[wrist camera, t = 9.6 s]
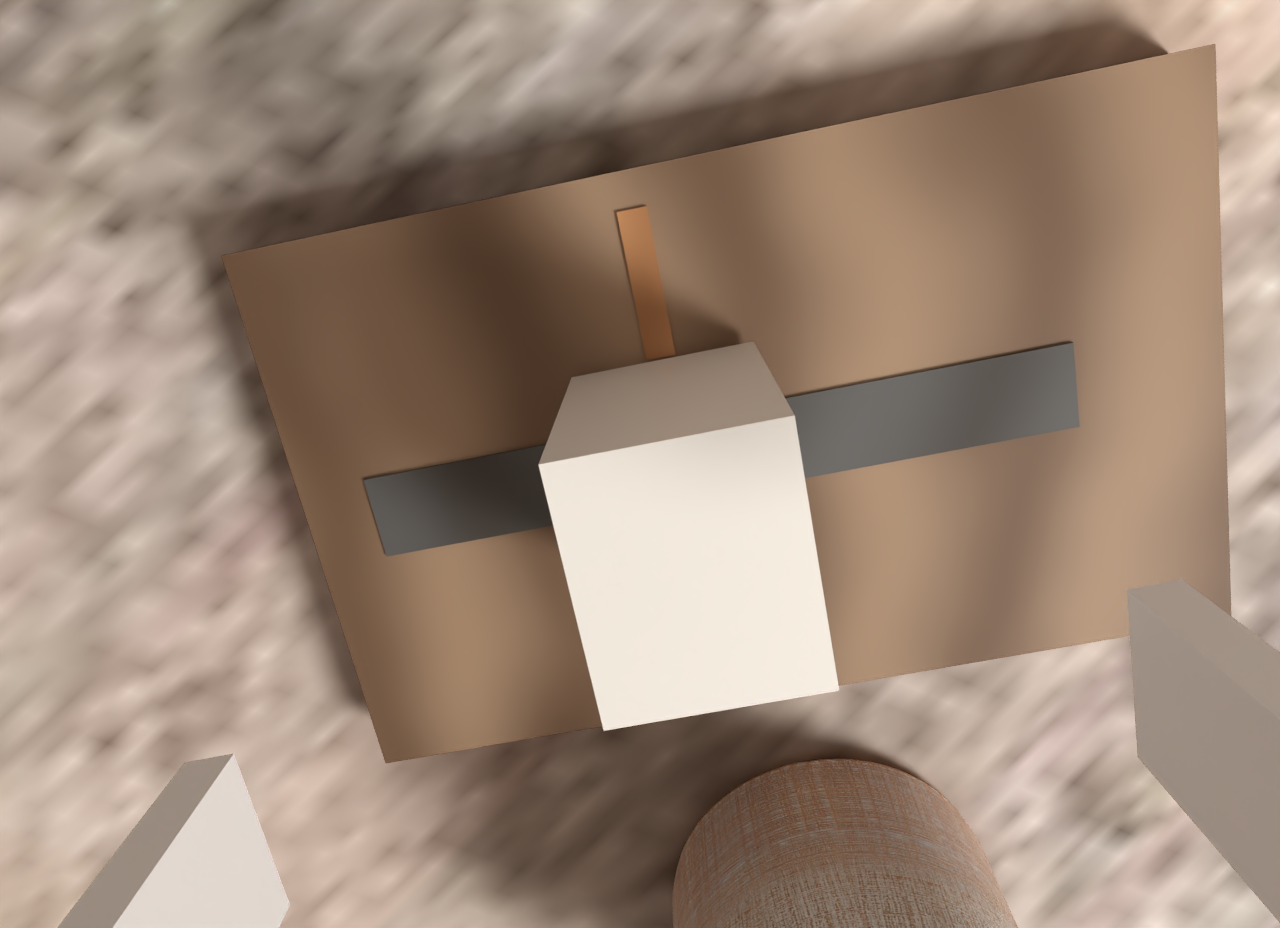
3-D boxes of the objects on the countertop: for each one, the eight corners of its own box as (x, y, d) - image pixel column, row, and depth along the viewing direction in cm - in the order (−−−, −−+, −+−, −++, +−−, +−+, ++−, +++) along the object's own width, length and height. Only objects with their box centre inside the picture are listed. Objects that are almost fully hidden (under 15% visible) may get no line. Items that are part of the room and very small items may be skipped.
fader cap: (617, 576, 28) (603, 731, 21) (571, 377, 26) (538, 465, 19) (788, 545, 28) (839, 690, 20) (753, 341, 26) (794, 415, 18)
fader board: (403, 724, 33) (384, 765, 30) (253, 248, 28) (219, 256, 26) (1191, 587, 31) (1233, 619, 29) (1170, 53, 26) (1217, 43, 24)
